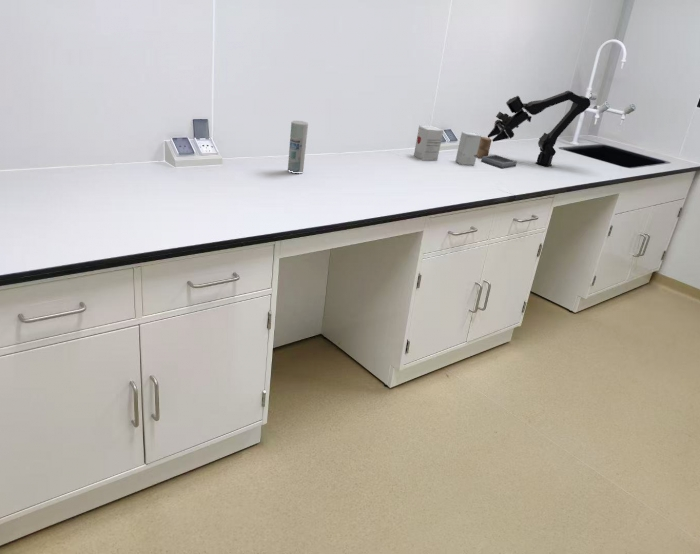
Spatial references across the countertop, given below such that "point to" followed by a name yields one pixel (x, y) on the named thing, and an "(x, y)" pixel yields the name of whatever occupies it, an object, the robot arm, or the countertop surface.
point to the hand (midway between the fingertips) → (490, 138)
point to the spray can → (297, 146)
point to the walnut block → (484, 147)
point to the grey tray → (498, 161)
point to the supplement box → (428, 142)
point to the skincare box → (468, 148)
